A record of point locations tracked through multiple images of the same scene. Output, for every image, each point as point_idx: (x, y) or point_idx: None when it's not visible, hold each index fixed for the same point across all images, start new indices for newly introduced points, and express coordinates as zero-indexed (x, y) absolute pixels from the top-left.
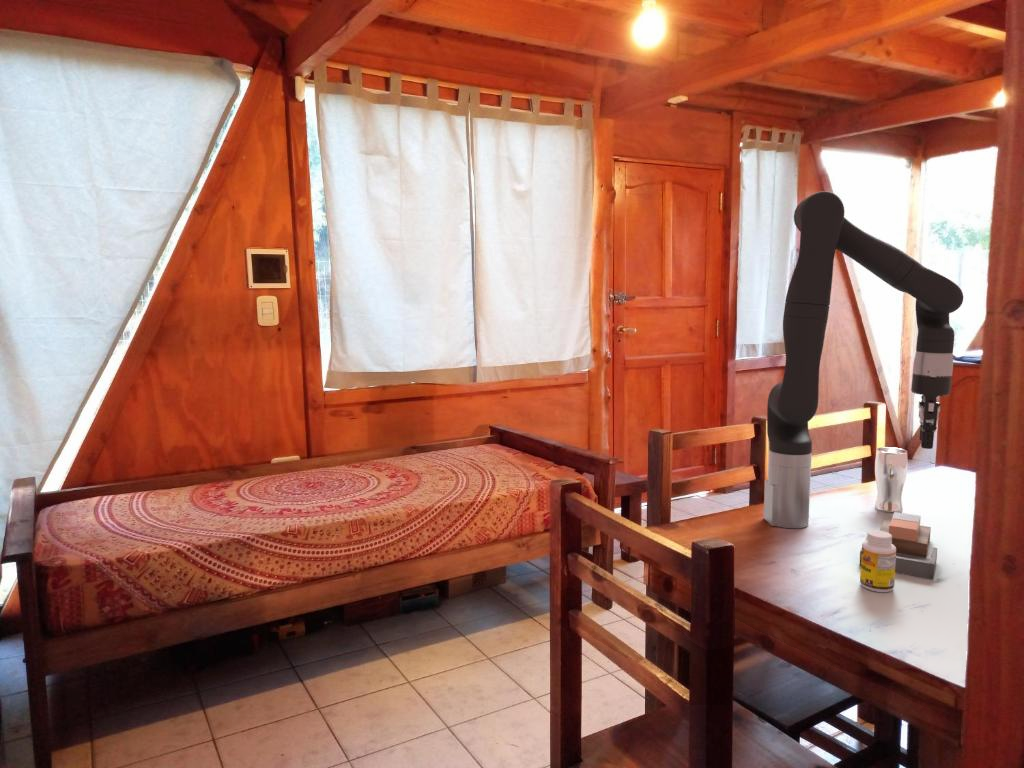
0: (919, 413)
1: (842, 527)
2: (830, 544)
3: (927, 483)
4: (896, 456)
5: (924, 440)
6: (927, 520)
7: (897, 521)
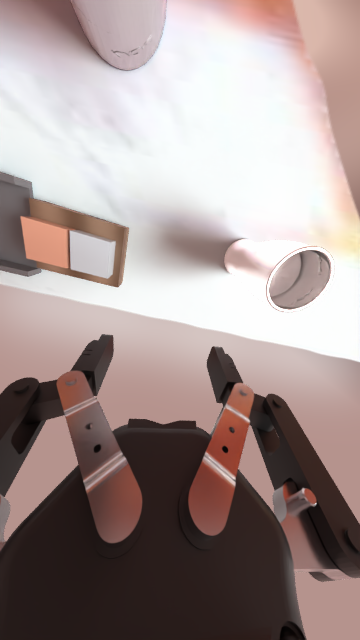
0: (217, 424)
1: (133, 158)
2: (22, 110)
3: (347, 325)
4: (262, 284)
5: (83, 353)
6: (200, 295)
7: (55, 236)
